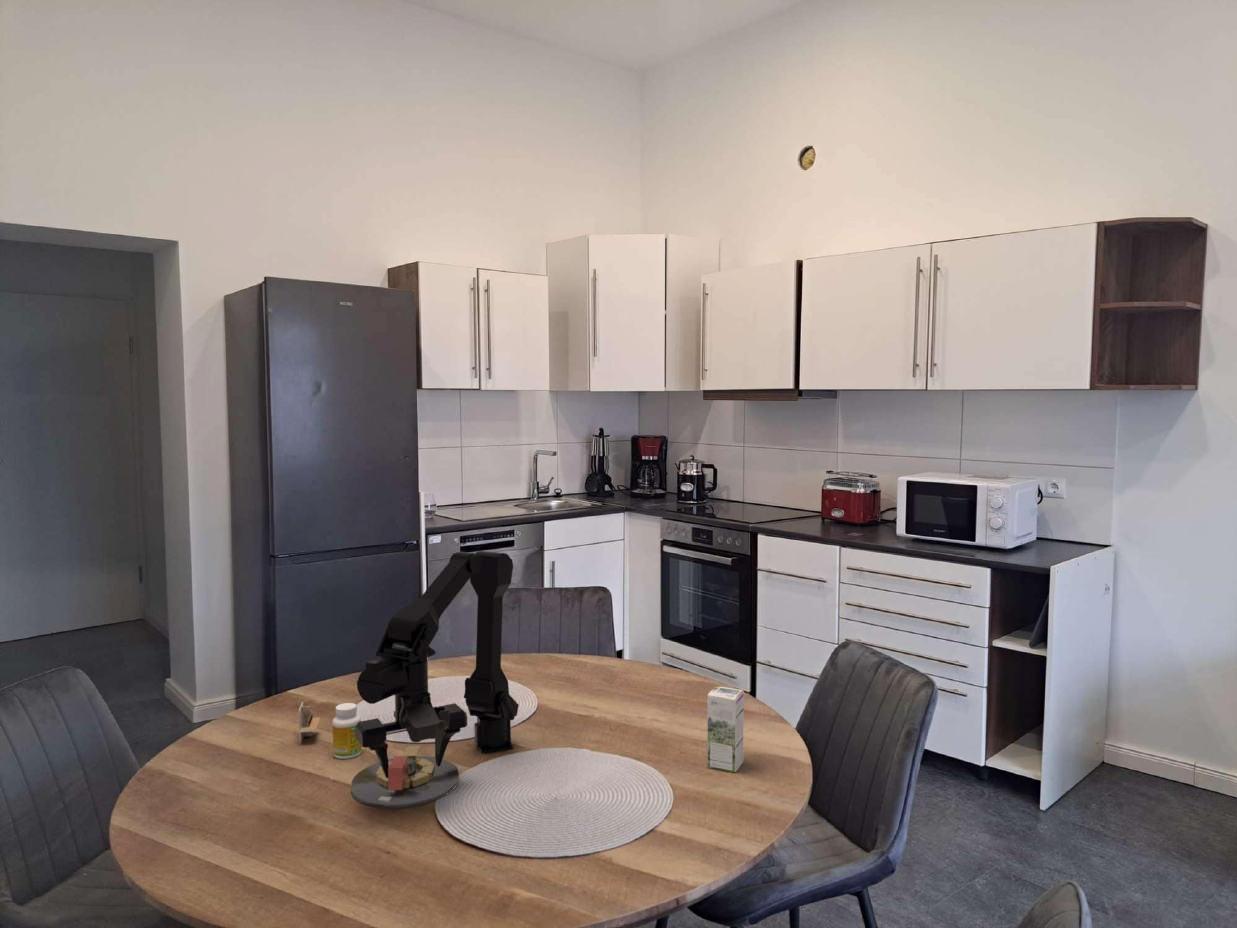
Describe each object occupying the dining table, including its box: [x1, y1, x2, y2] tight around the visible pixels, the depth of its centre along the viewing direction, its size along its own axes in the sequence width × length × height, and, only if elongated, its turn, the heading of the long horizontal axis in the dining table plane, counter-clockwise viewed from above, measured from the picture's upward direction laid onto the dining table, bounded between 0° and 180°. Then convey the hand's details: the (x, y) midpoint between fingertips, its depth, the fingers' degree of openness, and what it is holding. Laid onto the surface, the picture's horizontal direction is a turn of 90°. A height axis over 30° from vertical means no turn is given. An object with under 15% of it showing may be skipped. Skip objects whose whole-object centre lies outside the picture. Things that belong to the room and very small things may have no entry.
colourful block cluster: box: [376, 745, 435, 790], centre depth 155 cm, size 13×13×5 cm
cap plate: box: [350, 755, 459, 810], centre depth 155 cm, size 19×19×4 cm
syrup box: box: [706, 685, 745, 773], centre depth 162 cm, size 6×6×14 cm
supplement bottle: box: [331, 702, 363, 760], centre depth 168 cm, size 5×5×10 cm
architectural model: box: [298, 701, 321, 744], centre depth 176 cm, size 3×7×7 cm, turn 13°
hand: (413, 771), depth 151 cm, fingers open, 9 cm apart
